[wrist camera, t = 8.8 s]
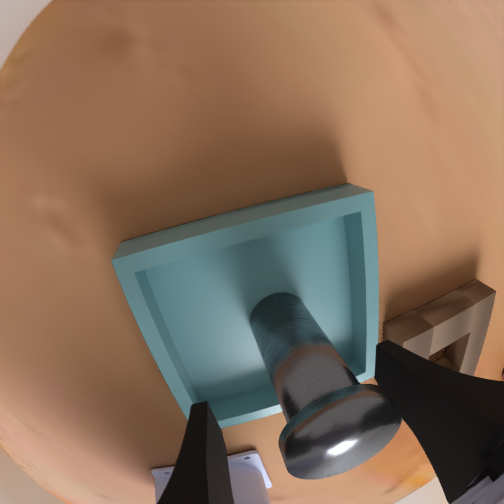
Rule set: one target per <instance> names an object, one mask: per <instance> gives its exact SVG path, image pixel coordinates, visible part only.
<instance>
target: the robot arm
mask: <svg viewBox="0 0 504 504" xmlns="http://www.w3.org/2000/svg"><path fill="white" fill-rule="evenodd" d="M374 378H375V380H376V381H377V383H378V385H379V386H380V387H382V388H383V389H384V390H385V391H386V392H387V393H388V394H389V396H390V397H391V398H392V400H393V401H394V402H395V404H396V405H397V406H398V407H399V409H400V410H401V413H402V418H403V420H404V421H405V422H406V424H407V425H408V426H409V427H410V429H411V430H412V431H413V433H414V434H415V436H416V437H417V439H418V441H419V443H420V444H421V446H422V448H423V449H424V451H425V453H426V455H427V457H428V459H429V461H430V462H431V464H432V466H433V469H434V471H435V473H436V475H437V477H438V479H439V481H440V484H441V486H442V489H443V491H444V493H445V496H446V499H447V501H448V503H449V504H504V381H496V380H489V379H484V378H479V377H475V376H471V375H467V374H464V373H460V372H457V371H454V370H451V369H449V368H446V367H444V366H441V365H439V364H436V363H434V362H432V361H430V360H427V359H425V358H423V357H421V356H419V355H417V354H415V353H413V352H411V351H409V350H407V349H405V348H403V347H401V346H400V345H398V344H396V343H394V342H392V341H390V340H386V341H383V342H381V343H379V344H377V345H376V355H375V374H374ZM151 474H152V475H153V476H154V477H155V496H156V504H271V501H270V498H269V495H268V492H267V488H270V487H271V486H272V483H271V481H270V479H269V476H268V474H267V472H266V469H265V467H264V465H263V463H262V460H261V458H260V456H259V453H258V451H256V450H251V451H247V452H243V453H239V454H235V455H231V456H227V451H226V447H225V443H224V439H223V435H222V431H221V428H220V426H219V424H218V422H217V420H216V418H215V416H214V414H213V412H212V410H211V408H210V406H209V404H208V402H207V401H204V402H200V403H195V404H192V405H191V407H190V413H189V418H188V423H187V427H186V432H185V435H184V439H183V442H182V446H181V449H180V452H179V455H178V458H177V461H176V464H175V466H172V467H165V468H157V469H153V470H152V471H151Z"/></svg>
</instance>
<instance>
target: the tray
mask: <svg viewBox="0 0 504 504" xmlns="http://www.w3.org/2000/svg"><path fill="white" fill-rule="evenodd" d="M111 261H112V264H113V267H114V269H115V272H116V274H117V277H118V280H119V282H120V285H121V287H122V289H123V292H124V294H125V297H126V299H127V301H128V304H129V306H130V308H131V311H132V313H133V315H134V317H135V320H136V322H137V324H138V326H139V328H140V331H141V333H142V335H143V337H144V339H145V341H146V343H147V345H148V348H149V350H150V352H151V354H152V356H153V358H154V360H155V362H156V364H157V366H158V368H159V370H160V371H161V373H162V375H163V377H164V379H165V381H166V383H167V385H168V387H169V388H170V390H171V392H172V394H173V396H174V397H175V399H176V401H177V403H178V405H179V406H180V408H181V410H182V412H183V413H184V415H185V417H186V418H187V420H188V418H189V413H190V407H191V405H192V404H195V403H200V402H204V401H207V402H208V404H209V406H210V408H211V410H212V412H213V414H214V416H215V418H216V420H217V422H218V424H219V426H220V428H225V427H229V426H233V425H237V424H241V423H245V422H249V421H252V420H256V419H259V418H263V417H266V416H270V415H273V414H276V413H279V412H283V411H282V408H281V406H280V403H279V401H278V398H277V395H276V393H275V390H274V388H273V385H272V383H271V380H270V377H269V375H268V372H267V370H266V367H265V364H264V362H263V359H262V356H261V354H260V351H259V348H258V346H257V343H256V340H255V338H254V335H253V332H252V330H251V327H250V316H251V313H252V310H253V309H254V307H255V306H256V305H257V303H258V302H259V301H261V300H262V299H263V298H265V297H267V296H269V295H271V294H274V293H280V292H285V293H291V294H293V295H295V296H297V297H298V298H299V299H300V300H301V301H302V302H303V304H304V305H305V306H306V308H307V309H308V311H309V312H310V313H311V315H312V316H313V318H314V319H315V320H316V322H317V323H318V325H319V326H320V327H321V329H322V330H323V332H324V333H325V334H326V336H327V337H328V339H329V340H330V341H331V343H332V344H333V346H334V347H335V348H336V350H337V351H338V353H339V354H340V356H341V357H342V358H343V360H344V361H345V363H346V364H347V365H348V367H349V368H350V370H351V371H352V373H353V374H354V375H355V377H356V378H357V380H358V381H359V383H361V382H363V381H366V380H368V379H370V378H372V377H374V374H375V355H376V345H377V344H378V323H379V274H378V246H377V228H376V214H375V202H374V191H371V190H368V189H365V188H362V187H359V186H356V185H352V184H349V183H347V184H342V185H338V186H333V187H329V188H324V189H320V190H315V191H311V192H307V193H303V194H298V195H294V196H290V197H286V198H282V199H277V200H273V201H269V202H265V203H261V204H257V205H253V206H249V207H245V208H241V209H238V210H234V211H230V212H226V213H222V214H218V215H215V216H211V217H207V218H203V219H200V220H196V221H192V222H189V223H185V224H182V225H178V226H174V227H171V228H167V229H164V230H160V231H157V232H153V233H150V234H147V235H143V236H140V237H136V238H133V239H130V240H126V241H123V242H121V244H120V246H119V247H118V249H117V251H116V253H115V254H114V256H113V258H112V260H111Z"/></svg>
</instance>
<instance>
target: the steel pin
mask: <svg viewBox="0 0 504 504" xmlns="http://www.w3.org/2000/svg"><path fill="white" fill-rule="evenodd" d="M250 327H251V330H252V332H253V335H254V338H255V340H256V343H257V346H258V348H259V351H260V354H261V356H262V359H263V362H264V364H265V367H266V370H267V372H268V375H269V377H270V380H271V383H272V385H273V388H274V390H275V393H276V395H277V398H278V401H279V403H280V406H281V408H282V411H283V413H284V416H285V418H286V421H287V424H286V426H285V427H284V429H283V430H282V432H281V434H280V437H279V448H280V451H281V454H282V457H283V460H284V462H285V465H286V468H287V470H288V472H289V473H290V474H291V475H292V476H294V477H297V478H300V479H321V478H327V477H331V476H334V475H338V474H341V473H343V472H346V471H348V470H350V469H353V468H355V467H357V466H358V465H360V464H362V463H364V462H365V461H367V460H369V459H370V458H371V457H373V456H374V455H375V454H377V453H378V452H379V451H380V450H382V449H383V448H384V447H385V446H386V445H387V444H388V443H389V442H390V440H391V439H392V438H393V437H394V435H395V434H396V432H397V431H398V429H399V427H400V424H401V421H402V413H401V410H400V409H399V407H398V406H397V405H396V404H395V402H394V401H393V400H392V398H391V397H390V396H389V394H388V393H387V392H386V391H385V390H384V389H383V388H382V387H380V386H377V385H373V384H360V383H359V381H358V380H357V378H356V377H355V375H354V374H353V373H352V371H351V370H350V368H349V367H348V365H347V364H346V363H345V361H344V360H343V358H342V357H341V356H340V354H339V353H338V351H337V350H336V348H335V347H334V346H333V344H332V343H331V341H330V340H329V339H328V337H327V336H326V334H325V333H324V332H323V330H322V329H321V327H320V326H319V325H318V323H317V322H316V320H315V319H314V318H313V316H312V315H311V313H310V312H309V311H308V309H307V308H306V306H305V305H304V304H303V302H302V301H301V300H300V299H299V298H298V297H297V296H295V295H293V294H291V293H285V292H280V293H274V294H271V295H269V296H267V297H265V298H263V299H262V300H261V301H259V302H258V303H257V305H256V306H255V307H254V309H253V310H252V313H251V316H250Z"/></svg>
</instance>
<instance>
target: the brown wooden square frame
mask: <svg viewBox="0 0 504 504" xmlns="http://www.w3.org/2000/svg"><path fill="white" fill-rule="evenodd" d="M495 295H496V291H495V290H493V289H492V288H490V287H488V286H487V285H485V284H484V283H482V282H480V281H479V280H477V279H475V280H473V281H471V282H469V283H467V284H465V285H463V286H462V287H460V288H458V289H456V290H454V291H452V292H450V293H448V294H446V295H444V296H442V297H440V298H438V299H436V300H433V301H431V302H429V303H427V304H425V305H423V306H421V307H419V308H416V309H414V310H412V311H410V312H408V313H405V314H403V315H401V316H398V317H396V318H394V319H392V320H389V321H387V322H385V323H384V329H383V341H386V340H390V341H392V342H394V343H396V344H398V345H400V346H401V347H403V348H405V349H407V350H409V351H411V352H413V353H415V354H417V355H419V356H421V357H423V358H425V359H427V360H429V356H430V355H432V354H434V353H436V352H437V351H439V350H441V349H443V348H444V347H446V349H445V354H444V357H442V358H441V359H439V360H437V361H435V362H434V363H436V364H439V365H441V366H444V367H446V368H449V369H451V370H454V371H457V372H460V373H464V374H467V375H471V376H473V375H474V373H475V370H476V367H477V364H478V360H479V357H480V354H481V351H482V347H483V344H484V340H485V337H486V333H487V329H488V326H489V322H490V317H491V313H492V309H493V304H494V300H495ZM402 421H404V420H403V418H402ZM402 421H401V422H402Z"/></svg>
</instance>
